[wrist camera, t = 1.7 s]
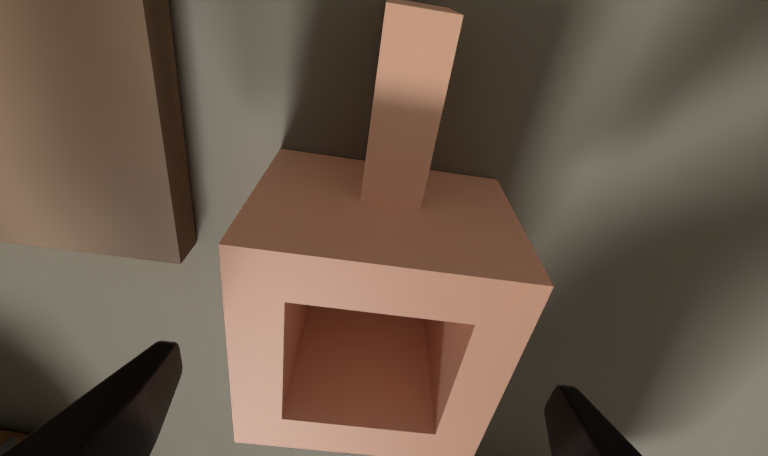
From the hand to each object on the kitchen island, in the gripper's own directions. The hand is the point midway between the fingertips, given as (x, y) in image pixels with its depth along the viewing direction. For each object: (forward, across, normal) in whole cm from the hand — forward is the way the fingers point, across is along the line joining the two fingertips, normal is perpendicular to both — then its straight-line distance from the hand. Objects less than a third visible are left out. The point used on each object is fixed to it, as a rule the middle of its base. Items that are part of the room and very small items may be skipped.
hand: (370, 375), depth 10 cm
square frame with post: (+5, 0, -2) cm, 5 cm away
